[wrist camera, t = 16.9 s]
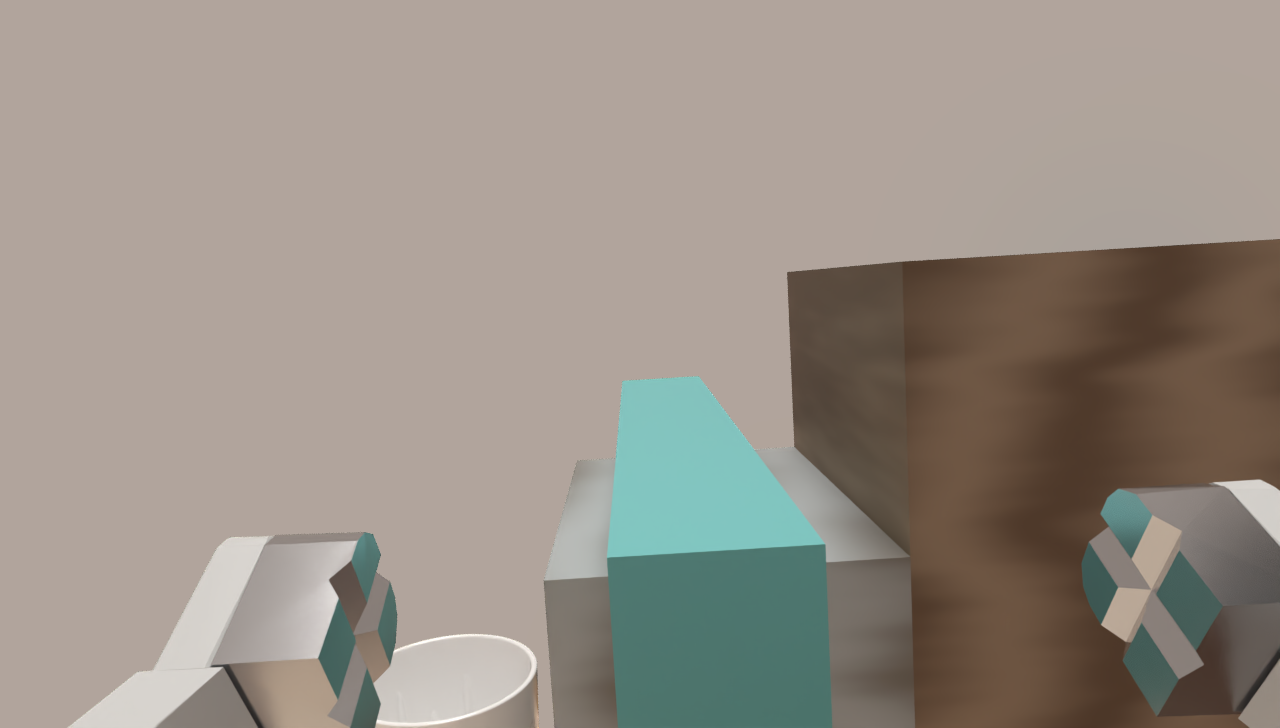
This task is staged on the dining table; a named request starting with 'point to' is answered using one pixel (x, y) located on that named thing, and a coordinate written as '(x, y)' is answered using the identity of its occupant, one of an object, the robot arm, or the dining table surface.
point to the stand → (979, 473)
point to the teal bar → (710, 574)
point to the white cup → (460, 684)
